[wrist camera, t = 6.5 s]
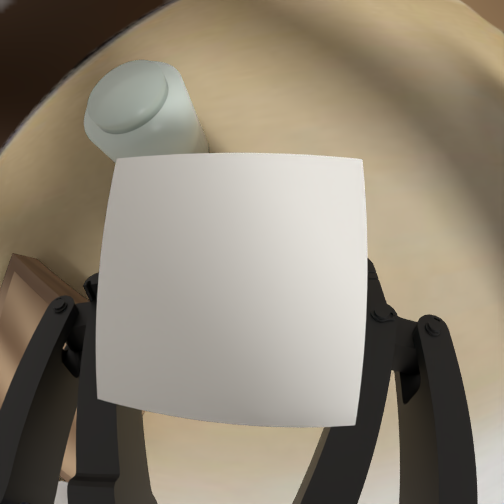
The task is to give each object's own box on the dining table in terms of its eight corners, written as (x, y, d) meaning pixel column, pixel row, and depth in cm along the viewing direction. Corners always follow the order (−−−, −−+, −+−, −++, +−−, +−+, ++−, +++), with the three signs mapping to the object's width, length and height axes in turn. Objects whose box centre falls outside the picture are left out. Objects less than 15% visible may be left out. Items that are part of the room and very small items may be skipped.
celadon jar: (159, 113, 21) (119, 46, 13) (224, 135, 20) (201, 58, 13) (118, 176, 21) (57, 125, 13) (181, 206, 20) (131, 153, 12)
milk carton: (309, 244, 19) (363, 157, 7) (305, 350, 18) (356, 427, 6) (205, 240, 19) (115, 157, 7) (199, 344, 18) (96, 400, 6)
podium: (36, 259, 20) (12, 253, 17) (171, 355, 18) (153, 364, 15) (1, 387, 19) (-20, 392, 16) (110, 485, 17) (94, 502, 14)
